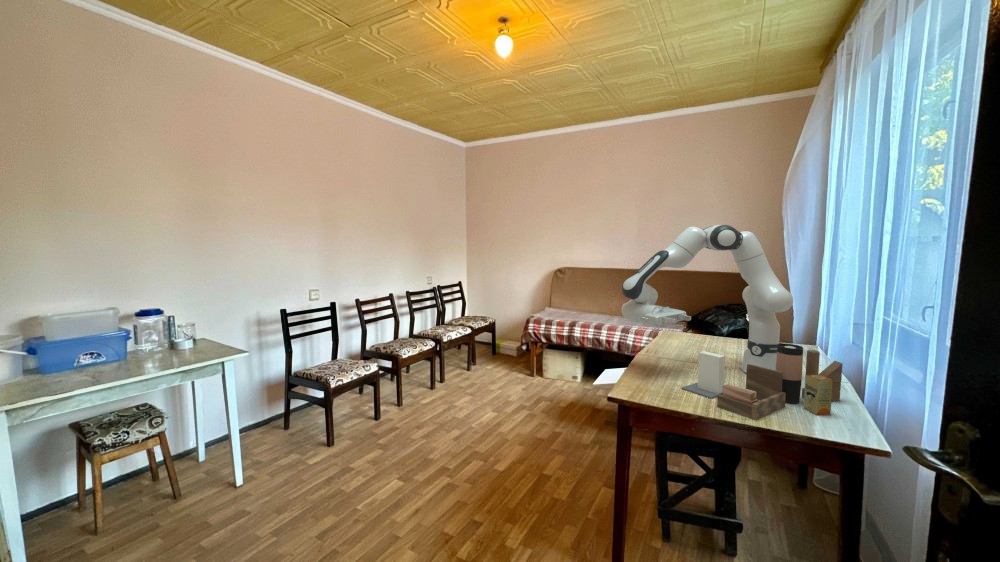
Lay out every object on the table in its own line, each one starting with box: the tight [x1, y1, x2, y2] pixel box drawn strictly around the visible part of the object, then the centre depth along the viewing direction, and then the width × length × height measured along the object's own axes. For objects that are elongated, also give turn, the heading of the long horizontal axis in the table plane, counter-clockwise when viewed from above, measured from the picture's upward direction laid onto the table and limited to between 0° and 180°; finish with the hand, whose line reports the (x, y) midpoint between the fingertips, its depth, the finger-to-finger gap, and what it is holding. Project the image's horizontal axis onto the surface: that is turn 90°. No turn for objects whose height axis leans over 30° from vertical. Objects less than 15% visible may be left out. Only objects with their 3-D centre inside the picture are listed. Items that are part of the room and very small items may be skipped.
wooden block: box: [801, 349, 843, 402], centre depth 141 cm, size 4×11×18 cm, turn 85°
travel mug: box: [776, 343, 804, 405], centre depth 140 cm, size 8×8×20 cm
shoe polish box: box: [803, 374, 833, 416], centre depth 130 cm, size 5×5×12 cm
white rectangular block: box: [697, 350, 726, 394], centre depth 149 cm, size 4×8×14 cm, turn 31°
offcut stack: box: [722, 383, 759, 405], centre depth 132 cm, size 4×10×8 cm, turn 31°
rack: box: [716, 364, 786, 421], centre depth 135 cm, size 20×12×12 cm, turn 121°
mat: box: [681, 381, 723, 399], centre depth 151 cm, size 14×12×1 cm
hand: (683, 320), depth 158 cm, fingers open, 8 cm apart
